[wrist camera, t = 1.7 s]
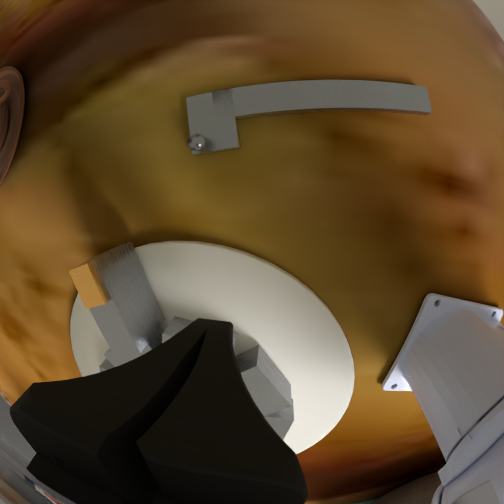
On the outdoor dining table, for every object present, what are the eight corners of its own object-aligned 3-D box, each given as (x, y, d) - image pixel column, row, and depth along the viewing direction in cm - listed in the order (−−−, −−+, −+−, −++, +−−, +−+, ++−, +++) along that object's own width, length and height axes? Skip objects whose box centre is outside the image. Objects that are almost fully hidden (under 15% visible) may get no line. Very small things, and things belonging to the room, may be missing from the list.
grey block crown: (336, 287, 14) (356, 325, 10) (264, 456, 19) (261, 492, 15) (109, 235, 14) (65, 254, 10) (122, 417, 19) (104, 447, 15)
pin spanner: (418, 91, 12) (436, 82, 9) (427, 141, 12) (447, 138, 10) (191, 102, 13) (178, 91, 11) (197, 155, 14) (184, 152, 12)
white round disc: (401, 285, 15) (430, 313, 11) (296, 471, 21) (297, 499, 17) (69, 210, 15) (30, 220, 12) (95, 417, 21) (80, 440, 18)
